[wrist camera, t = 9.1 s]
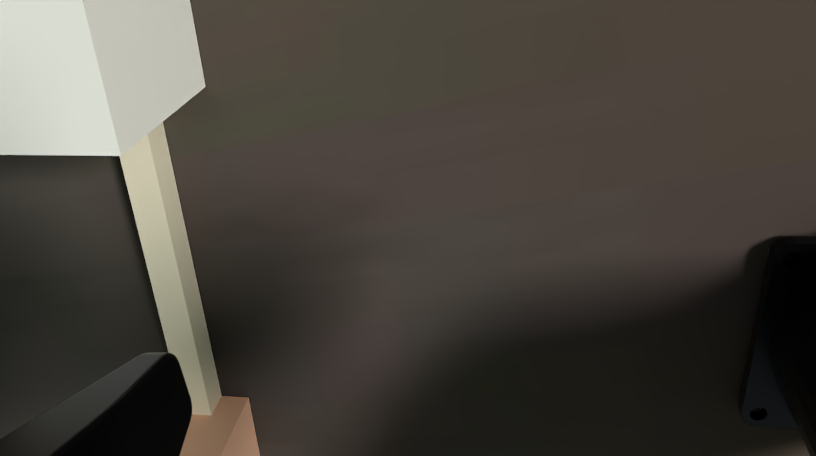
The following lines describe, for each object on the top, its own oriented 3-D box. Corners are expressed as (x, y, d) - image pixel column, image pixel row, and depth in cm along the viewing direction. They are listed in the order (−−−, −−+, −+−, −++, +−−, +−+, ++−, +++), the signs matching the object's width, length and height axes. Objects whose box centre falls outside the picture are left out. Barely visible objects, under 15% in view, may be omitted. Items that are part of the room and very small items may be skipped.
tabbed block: (273, 460, 27) (226, 579, 23) (171, 453, 28) (107, 568, 24) (177, -66, 19) (73, -34, 15) (33, -61, 19) (-109, -28, 15)
